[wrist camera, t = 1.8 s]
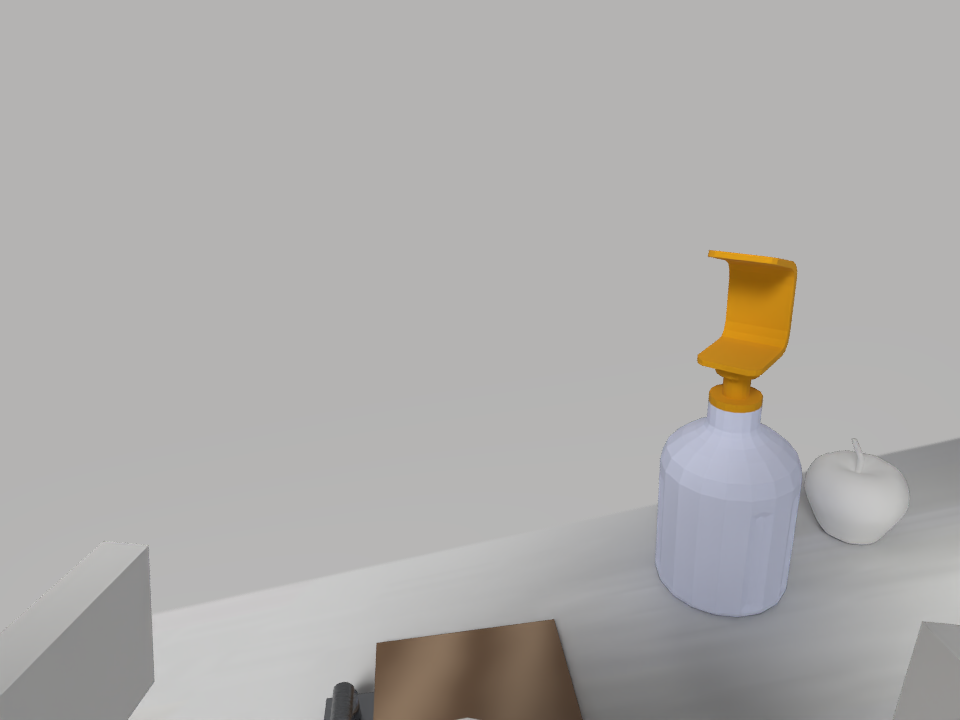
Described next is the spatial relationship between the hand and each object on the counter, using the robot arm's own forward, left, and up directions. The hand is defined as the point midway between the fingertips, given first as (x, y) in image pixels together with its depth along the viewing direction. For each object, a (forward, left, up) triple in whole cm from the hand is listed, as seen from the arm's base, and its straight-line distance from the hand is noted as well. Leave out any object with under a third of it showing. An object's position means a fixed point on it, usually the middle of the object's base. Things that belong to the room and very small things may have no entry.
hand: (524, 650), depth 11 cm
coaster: (+1, -20, -26) cm, 32 cm away
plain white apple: (-30, -32, -26) cm, 51 cm away
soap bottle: (-18, -29, -26) cm, 43 cm away
